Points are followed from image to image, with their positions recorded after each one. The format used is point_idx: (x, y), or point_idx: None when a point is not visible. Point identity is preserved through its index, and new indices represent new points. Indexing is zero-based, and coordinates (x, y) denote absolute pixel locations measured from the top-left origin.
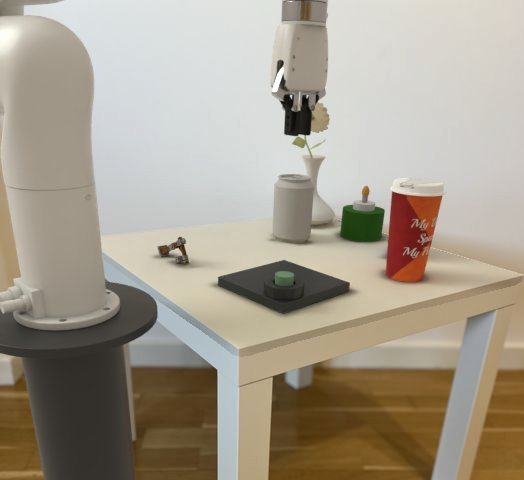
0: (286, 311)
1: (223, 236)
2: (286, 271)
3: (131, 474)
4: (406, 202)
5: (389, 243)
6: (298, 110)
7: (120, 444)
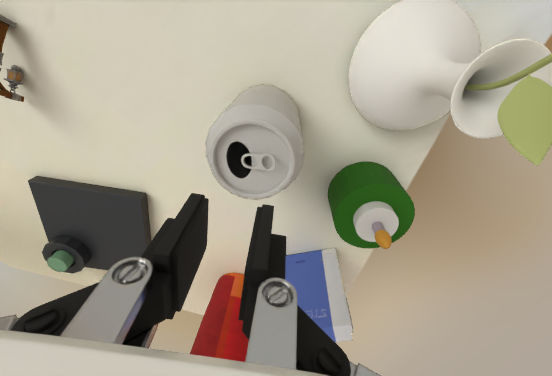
0: None
1: (175, 2)
2: (63, 262)
3: None
4: None
5: (209, 306)
6: (251, 274)
7: None
